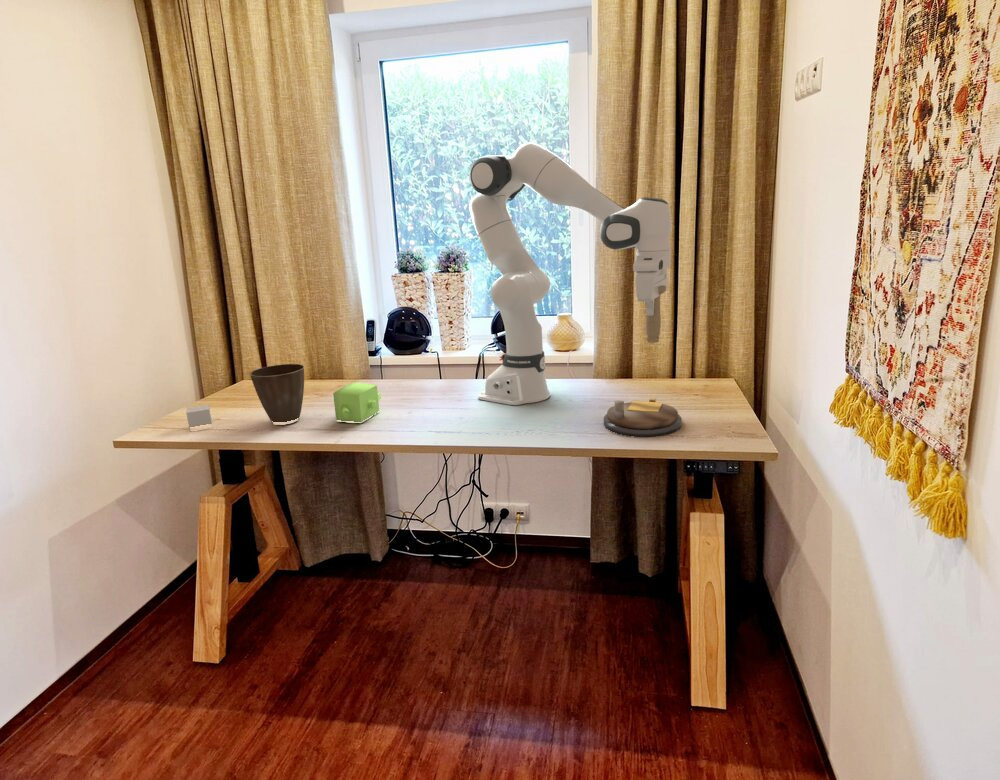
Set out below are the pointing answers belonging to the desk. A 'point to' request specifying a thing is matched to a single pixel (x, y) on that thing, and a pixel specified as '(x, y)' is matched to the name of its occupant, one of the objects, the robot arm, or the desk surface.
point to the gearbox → (356, 402)
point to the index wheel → (642, 415)
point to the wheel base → (643, 432)
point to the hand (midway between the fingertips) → (652, 313)
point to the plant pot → (280, 390)
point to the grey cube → (199, 415)
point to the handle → (654, 319)
